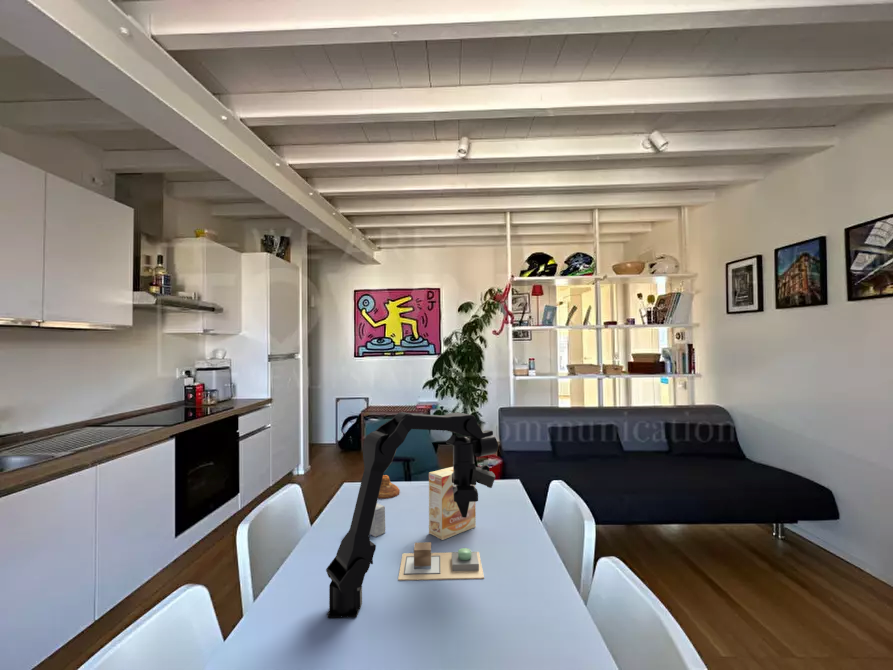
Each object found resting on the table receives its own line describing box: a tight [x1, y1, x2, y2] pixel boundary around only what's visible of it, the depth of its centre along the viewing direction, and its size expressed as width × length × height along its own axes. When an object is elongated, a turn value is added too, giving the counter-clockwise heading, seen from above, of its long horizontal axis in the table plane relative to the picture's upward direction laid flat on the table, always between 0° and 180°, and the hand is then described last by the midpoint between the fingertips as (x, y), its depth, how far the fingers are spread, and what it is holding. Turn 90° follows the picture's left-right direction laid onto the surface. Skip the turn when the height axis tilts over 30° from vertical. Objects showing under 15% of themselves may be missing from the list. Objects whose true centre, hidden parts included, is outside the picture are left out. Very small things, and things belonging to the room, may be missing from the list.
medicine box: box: [370, 503, 386, 538], centre depth 140 cm, size 8×4×9 cm, turn 47°
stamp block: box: [413, 541, 432, 569], centre depth 118 cm, size 4×4×5 cm
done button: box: [457, 547, 472, 560], centre depth 118 cm, size 4×4×4 cm
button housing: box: [451, 551, 479, 571], centre depth 118 cm, size 7×7×2 cm
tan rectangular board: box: [397, 551, 485, 581], centre depth 118 cm, size 22×14×1 cm, turn 91°
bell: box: [378, 474, 401, 500], centre depth 177 cm, size 12×12×7 cm
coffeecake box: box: [428, 466, 477, 541], centre depth 141 cm, size 15×7×20 cm, turn 131°
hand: (464, 516), depth 118 cm, fingers closed
